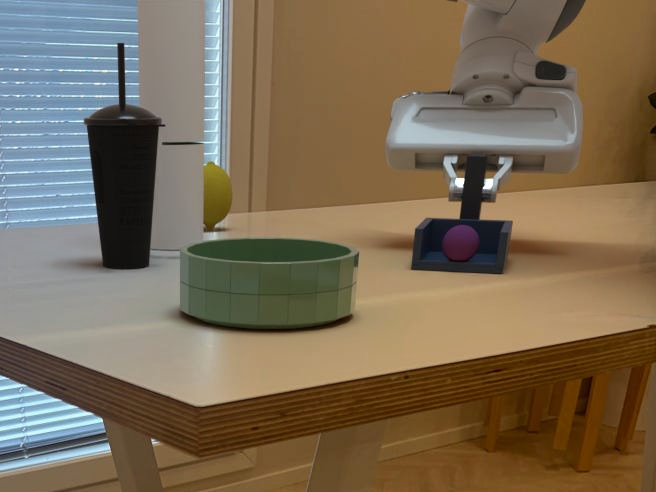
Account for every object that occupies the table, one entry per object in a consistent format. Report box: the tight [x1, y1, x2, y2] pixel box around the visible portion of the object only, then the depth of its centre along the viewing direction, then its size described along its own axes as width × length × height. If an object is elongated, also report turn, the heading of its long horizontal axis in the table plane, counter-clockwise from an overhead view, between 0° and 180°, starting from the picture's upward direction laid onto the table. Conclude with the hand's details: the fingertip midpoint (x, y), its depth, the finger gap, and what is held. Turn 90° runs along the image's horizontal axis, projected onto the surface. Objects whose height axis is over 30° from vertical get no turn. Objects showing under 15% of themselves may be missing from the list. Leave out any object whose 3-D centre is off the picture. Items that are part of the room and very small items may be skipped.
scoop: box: [410, 154, 514, 275], centre depth 105 cm, size 9×12×10 cm
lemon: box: [203, 160, 233, 231], centre depth 130 cm, size 6×6×8 cm
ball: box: [442, 225, 479, 262], centre depth 103 cm, size 4×4×4 cm
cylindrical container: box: [137, 0, 206, 251], centre depth 113 cm, size 7×7×25 cm
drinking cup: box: [83, 42, 162, 270], centre depth 102 cm, size 8×8×20 cm
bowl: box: [179, 236, 360, 330], centre depth 83 cm, size 14×14×5 cm
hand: (472, 198), depth 108 cm, fingers closed on scoop
